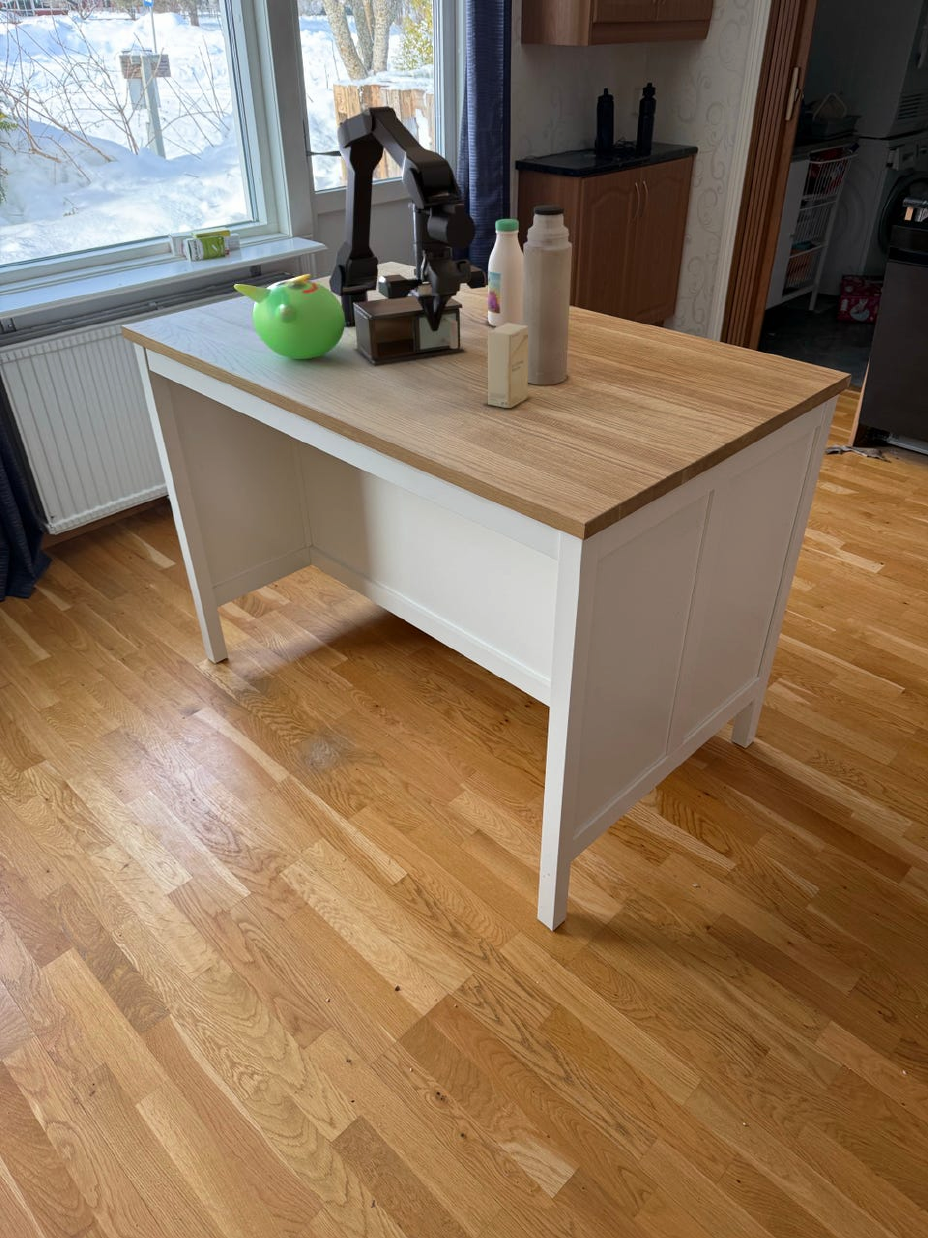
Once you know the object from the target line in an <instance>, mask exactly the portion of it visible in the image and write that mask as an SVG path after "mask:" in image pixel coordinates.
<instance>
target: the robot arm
mask: <svg viewBox="0 0 928 1238" xmlns="http://www.w3.org/2000/svg"><path fill="white" fill-rule="evenodd" d="M336 138H337V142H338V149H339V150H338V151H339V153H340V155H341V157H342V159H343V161H344V163H345V165H346V168H347V169H346V170H347V171H346V174H347V175H346V196H345V197H346V199H345V228H344V229H345V234H344V241H343V242H342V244H341V246H340V248H339V249H338V251H337V252H336V256H335V265H334V266H333V270H332V273H331V276H330V277H329V280H328V284H329V288H330V289H329V290H330V292H331V293H332V294H333V295H334V294H335V296H339V297H340V305H341V307H342V309H343V312H344V317H345V327H349V326H350V327H351V326H355V315H354V304H353V303H357V302H365V301H369V297H368V296H369V295H368V294H369V293H368V292H371V291H373V292H374V291H377V288H378V293H379V294H381V295H382V296H383V297H385V299H398V298H406V297H407V296H409V295H410V296H411V295H412V296H414V297H415V298H417V300H418V301H419V303H420V305H421V307H422V309H423V311H424V314H425V316H426V318H427V321H428V323H429V326H430V328H431V330H432V331H433V332H434V331H438V327H439V324H440V321H441V318H442V315H443V311H444V309H445V306H446V304H447V302H448V300H449V299H450V298H453V297H455V296H457V295H458V293H459V292H460V291H461V286H462V285H463V284H466V286H467V287H468V288H469V289H471V290H474V289H483V288H486V287H487V275H486V272H484V270H483V269H481V268H478V266H475V265H473V264H472V265H471V262H470V261H469V259H468V258H466V259H460V260H453V257H452V251H451V249H454V250H457V251H463V250H465V249H467V248H468V247H470V246H471V244H473V242H474V239H475V237H476V231H477V228H476V227H477V226H476V224H475V221H474V219H473V217H472V216H471V215H470V214H468V213H466V206H465V204H464V201H463V198H462V194H463V193H462V190H461V188H460V185H458V183H457V179H456V177H455V174H454V171H453V169H452V166H451V164H450V163H449V161H448V160H447V158H445V157H443V156H442V155H441V154H440V153H438V152H435V151H433V150H430V149H427V148H425V147H423V146H422V144H420V142H419V141H418V140H417V139H416V137H415V136H414V135H413V134H412V133H411V132H410V130H409V129H408V128H407V127H406V126H405V124H404V123H403V122H402V121H401V120H400V119H399V118H398V116H397V113H396V110H395V109H394V107H390V106H389V105H386V106H384V105H383V106H371V107H368V108H366V109H364V110H363V111H362V112H361V113H358V114H356V115H354V116H351V117H349V118H344V119H343V120H342V121H341V122H339V125H338V128H337V130H336ZM384 149H385V151H386V152H387V153H388V155H389V156H390V158H391V159H393V160H394V162H395V163H396V164H397V165H398V167H399V168H400V170H401V172H402V177H401V182H402V184H403V185H404V187H405V189H406V191H407V193H408V194H409V196H410V198H411V199H412V200H411V201H410V202H409V203H408V204H407V205H408V209H410V210H412V211H413V233H414V244H412V251H413V252H414V254H415V255H414V256H415V268H413V275H414V276H415V277H412V278H406V277H404V276H403V275H401V274H400V273H398V274H397V273H396V274H389V275H381V276H380V277H379V279H378V276H379V268H378V266H379V260H378V257H377V256H376V255H375V253H374V251H373V250H372V248H371V246H370V241H371V240H370V239H371V219H372V201H373V199H372V198H373V180H374V171H375V170H376V168H377V167H378V165H379V163H380V162H381V160H382V159H383V156H384ZM377 286H378V287H377Z"/></svg>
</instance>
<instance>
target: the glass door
mask: <svg viewBox="0 0 928 1238" xmlns="http://www.w3.org/2000/svg"><path fill="white" fill-rule="evenodd" d="M460 310H461V308H459V309H452V310H444V311H443V315H442V318H441V321H440V324H439V327H438V331H434V332H433V331H432V330H431V328H430V326H429V323H428V321H427V318H426V316H425V314H424V313H422V314H415V315H414V328H415V348H416V353H421V352H428V351H434V350H441V349H447V348H452V349H456V348H458V347H461V311H460Z"/></svg>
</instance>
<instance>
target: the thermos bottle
mask: <svg viewBox="0 0 928 1238" xmlns="http://www.w3.org/2000/svg"><path fill="white" fill-rule="evenodd" d="M564 213H565V207H563V206H560V205H549V204H547V205H538V206H535V207H533V214H534V216H533V224H532V226H531V227H529V228H528V230H527V235H526V238H527V241H526V242H524V243H523V251H522V253H523V312H522V324H521V325H527V326H528V382H527V384H528V383H529V384H533V385H540V386H541V385H542V386H544V385H545V386H546V385H547V386H549V385H555V384H560V383H562V382H564V381H565V380H566V379H567V372H568V349H569V348H568V346H569V345H568V344H569V326H570V325H569V324H570V301H571V282H572V281H571V280H572V277H571V276H572V259H573V258H572V257H573V255H572V253H573V244H572V243H571V242H570V241H569V236H570V233H569V228H568V227H567V226H565V225H564V219H565V218H564Z"/></svg>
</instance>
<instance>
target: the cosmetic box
mask: <svg viewBox="0 0 928 1238" xmlns="http://www.w3.org/2000/svg"><path fill="white" fill-rule="evenodd" d="M487 386H488V387H487V395H488V396H487V403H488V405H489V406H494V407H499V408H502V409H503V408H504V409H512V408H513V407H515V406H517V405H518V404H521V403H522V402H523V401H525V400H526V399H528V326H527V325H522V324H521V325H519V324H512V323H504V324H502V325H500V326H495V327H494V328H492V329H490V330H488V331H487Z"/></svg>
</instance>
